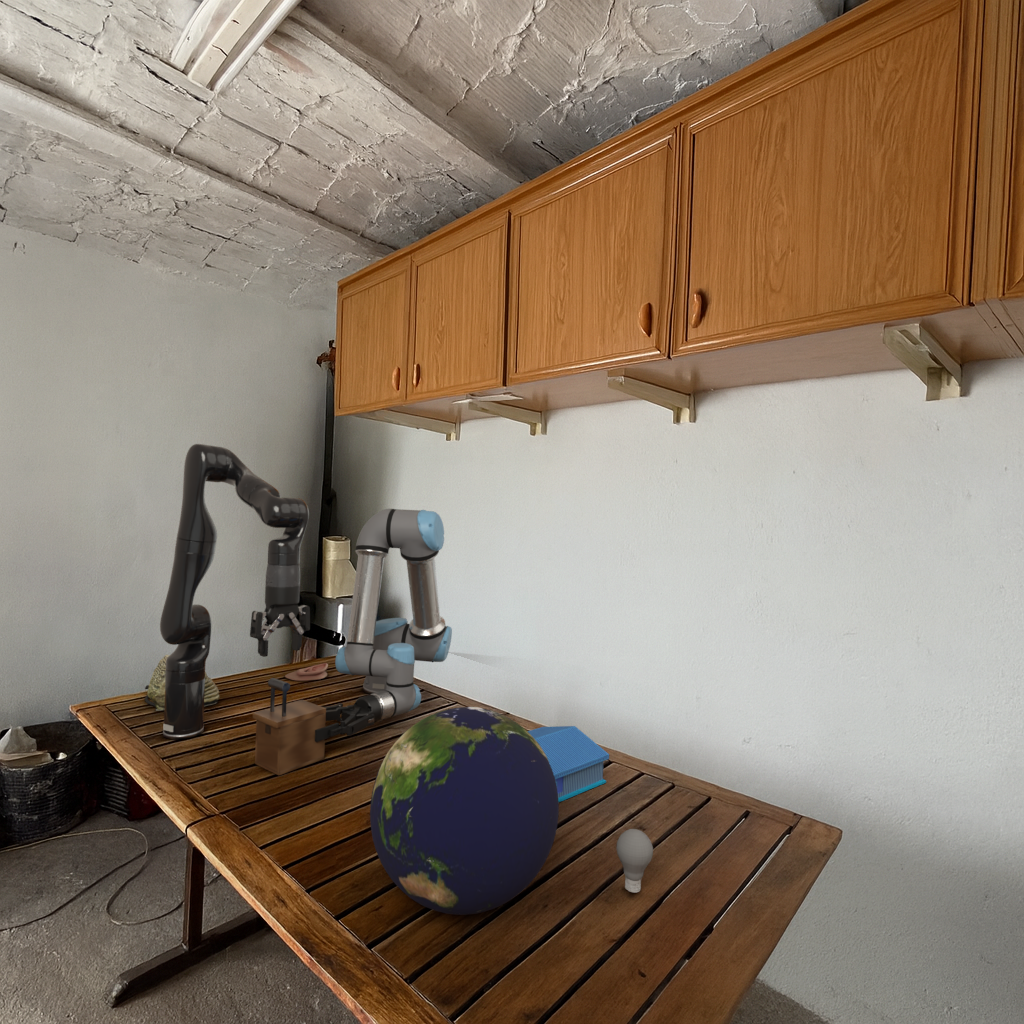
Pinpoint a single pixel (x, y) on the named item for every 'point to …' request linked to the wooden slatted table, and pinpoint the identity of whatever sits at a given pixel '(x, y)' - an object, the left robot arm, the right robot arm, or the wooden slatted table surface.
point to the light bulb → (634, 857)
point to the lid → (286, 708)
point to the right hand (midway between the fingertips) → (302, 730)
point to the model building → (571, 759)
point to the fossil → (158, 687)
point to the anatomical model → (309, 673)
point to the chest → (289, 745)
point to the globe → (464, 810)
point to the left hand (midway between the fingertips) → (280, 652)
